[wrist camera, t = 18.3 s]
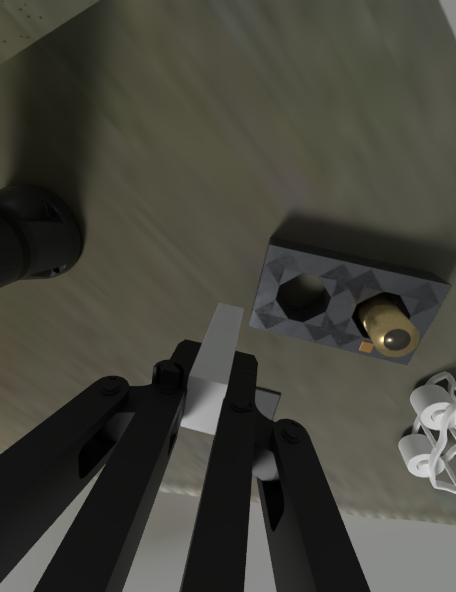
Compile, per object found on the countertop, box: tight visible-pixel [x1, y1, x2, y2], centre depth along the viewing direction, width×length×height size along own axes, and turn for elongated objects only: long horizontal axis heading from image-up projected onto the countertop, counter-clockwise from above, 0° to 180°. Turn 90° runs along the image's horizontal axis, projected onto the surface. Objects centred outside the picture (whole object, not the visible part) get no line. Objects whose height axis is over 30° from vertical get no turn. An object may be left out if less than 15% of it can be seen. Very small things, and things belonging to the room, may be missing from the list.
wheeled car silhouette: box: [398, 371, 456, 494], centre depth 47 cm, size 20×11×7 cm, turn 3°
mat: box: [255, 388, 280, 420], centre depth 57 cm, size 14×14×1 cm
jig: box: [249, 237, 452, 365], centre depth 42 cm, size 24×13×5 cm, turn 79°
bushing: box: [355, 292, 420, 357], centre depth 39 cm, size 5×5×11 cm
